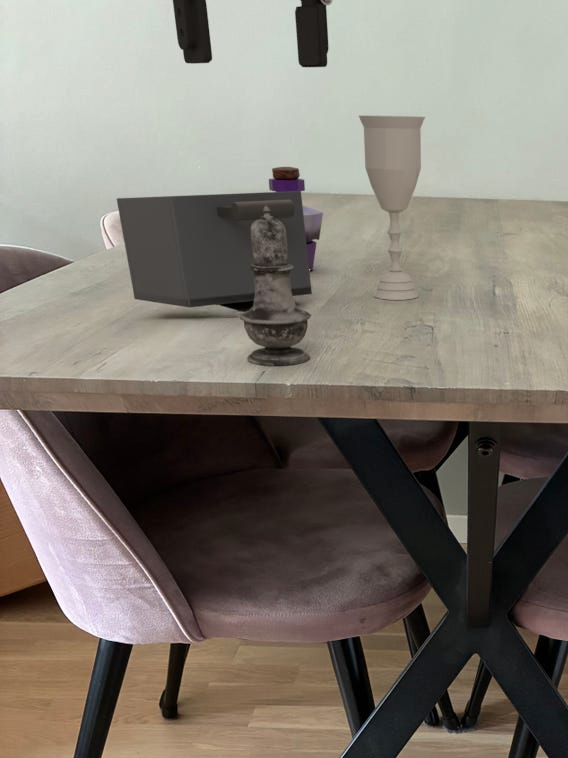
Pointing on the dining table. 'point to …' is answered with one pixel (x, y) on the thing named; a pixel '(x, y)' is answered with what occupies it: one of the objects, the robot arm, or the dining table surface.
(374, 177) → the chalice
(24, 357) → the dining table surface
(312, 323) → the dining table surface
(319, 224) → the potion bottle
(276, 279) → the salt shaker
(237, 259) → the dark grey rectangular box
